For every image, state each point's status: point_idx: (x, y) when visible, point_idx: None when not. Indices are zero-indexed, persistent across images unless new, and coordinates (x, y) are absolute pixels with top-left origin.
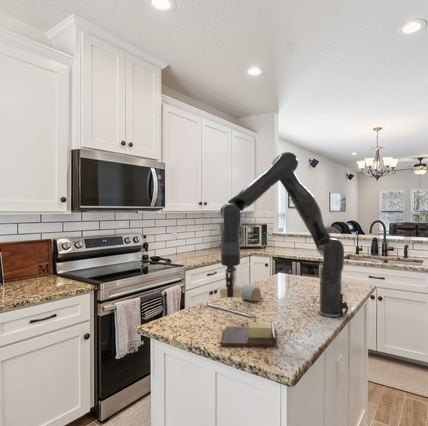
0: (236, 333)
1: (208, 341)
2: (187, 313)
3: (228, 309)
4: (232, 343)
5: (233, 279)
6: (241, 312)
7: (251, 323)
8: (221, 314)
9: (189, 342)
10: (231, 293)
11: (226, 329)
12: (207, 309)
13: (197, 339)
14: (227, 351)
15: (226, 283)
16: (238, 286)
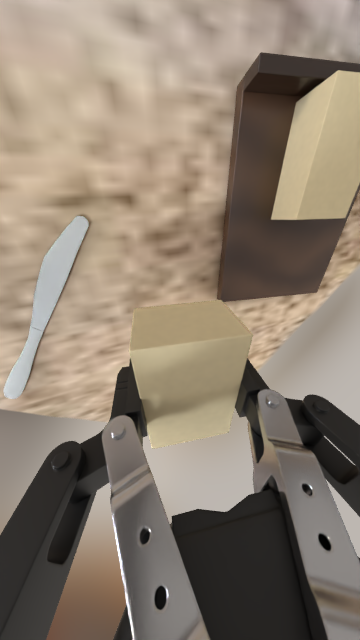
0: (272, 263)
1: (275, 322)
2: (108, 408)
3: (35, 329)
4: (327, 264)
5: (317, 475)
6: (44, 274)
7: (311, 206)
8: (88, 338)
9: (270, 352)
10: (249, 363)
11: (239, 297)
12: (56, 383)
13: (260, 344)
14: (336, 271)
15: (336, 455)
16: (164, 365)
